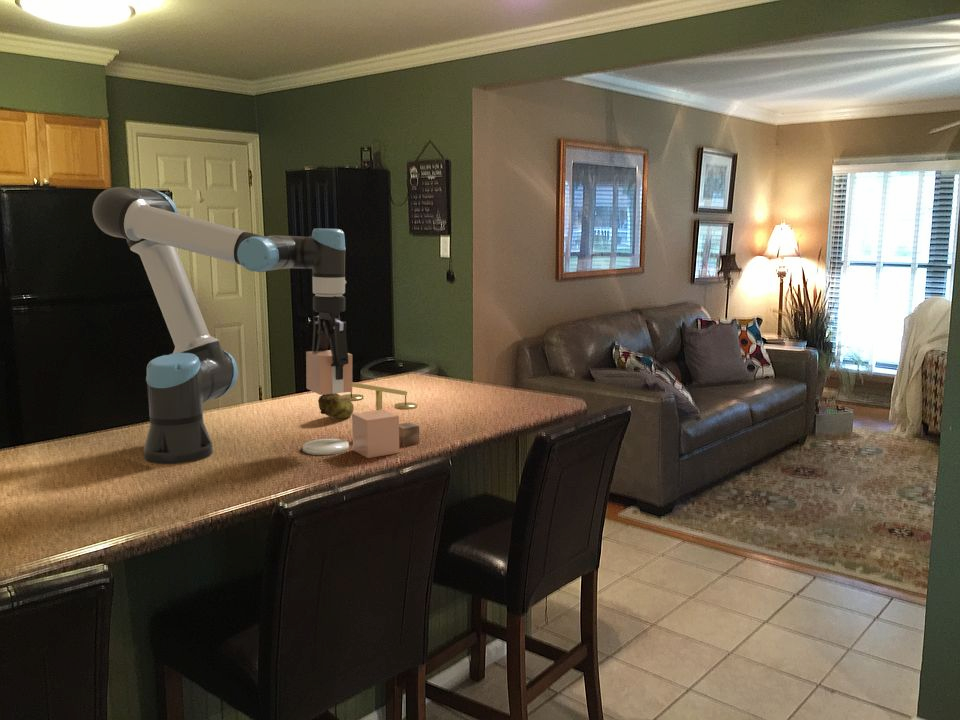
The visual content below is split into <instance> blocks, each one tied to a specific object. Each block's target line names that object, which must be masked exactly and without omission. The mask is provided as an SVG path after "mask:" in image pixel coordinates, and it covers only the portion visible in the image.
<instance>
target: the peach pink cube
mask: <svg viewBox="0 0 960 720" xmlns="http://www.w3.org/2000/svg"><path fill="white" fill-rule="evenodd" d="M305 355H306V356H305V361H306V362H305V363H306V364H305V365H306V368H305V370H306V372H305V373H306V374H305V377H306V378H305V379H306V380H305V381H306V382H305V383H306V386H305V387H306V389H307V390H309V391H312V392H313V393H316V394H318V395H320V396H322V395H324V394H333V393H332V366H331V364H332V363H333V359H332V353H331V349H329V350H325V351H312V350H310V351H305ZM352 382H353V354H352V353H349V352H348V364H345V365H344V392H343V393H351V392H352V393H353V387H352Z"/></svg>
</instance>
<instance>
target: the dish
mask: <svg viewBox="0 0 960 720" xmlns="http://www.w3.org/2000/svg"><path fill="white" fill-rule="evenodd" d="M349 449H350V443H349V441H347V440H344V439H340V438H320V439H314V440H310V441H307V442H305V443H303V444H302V451H303V453H306V454H308V455H314V456H328V455H329V456H330V455H336V454H341V453H344V452H347V451H348V450H349Z"/></svg>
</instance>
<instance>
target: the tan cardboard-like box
mask: <svg viewBox="0 0 960 720" xmlns="http://www.w3.org/2000/svg"><path fill="white" fill-rule="evenodd" d="M351 418H352V419H351V422H352V426H351V427H352V450H353V451H354V452H356V453H357V454H360V455H361V456H363V457H365V458H367V459H370V458H376V457H378V458H379V457H382V456H388V455H394V454H400V444H399V424H400V417H399V414H397V413H393V412H391V411H387V410H386V409H383V408H382V410H376V409H375V410H370V411H369V410H367V411H363V412H353V413H352V415H351Z"/></svg>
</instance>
